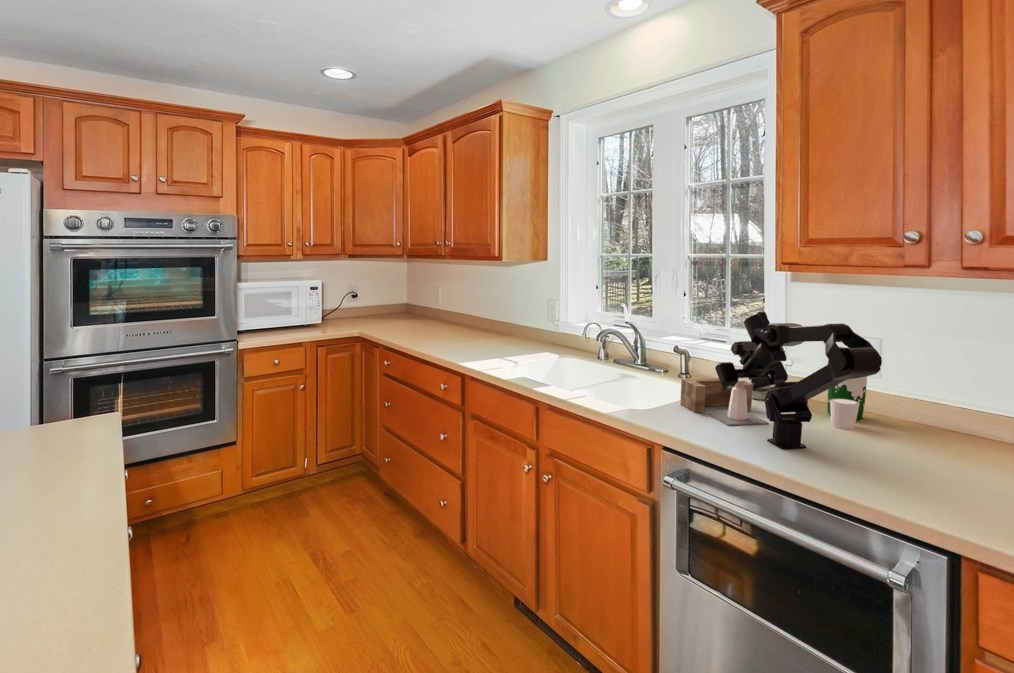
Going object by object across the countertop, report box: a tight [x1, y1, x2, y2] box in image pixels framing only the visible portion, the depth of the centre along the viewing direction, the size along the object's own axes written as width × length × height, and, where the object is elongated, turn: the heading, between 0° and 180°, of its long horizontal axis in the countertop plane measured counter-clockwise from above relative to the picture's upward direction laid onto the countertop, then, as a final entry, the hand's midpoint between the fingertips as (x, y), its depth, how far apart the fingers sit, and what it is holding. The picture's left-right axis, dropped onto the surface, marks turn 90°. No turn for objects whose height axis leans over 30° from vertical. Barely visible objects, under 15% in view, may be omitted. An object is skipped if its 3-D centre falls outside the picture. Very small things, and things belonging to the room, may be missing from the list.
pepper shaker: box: [727, 378, 748, 420], centre depth 161 cm, size 5×5×11 cm
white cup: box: [830, 399, 860, 430], centre depth 155 cm, size 7×7×7 cm
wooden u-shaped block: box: [680, 377, 753, 414], centre depth 174 cm, size 10×18×8 cm, turn 99°
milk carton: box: [826, 346, 868, 421], centre depth 163 cm, size 9×9×20 cm
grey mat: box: [706, 411, 770, 427], centre depth 162 cm, size 12×12×1 cm
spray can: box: [747, 343, 771, 401], centre depth 185 cm, size 7×7×20 cm
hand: (738, 389), depth 161 cm, fingers open, 9 cm apart
